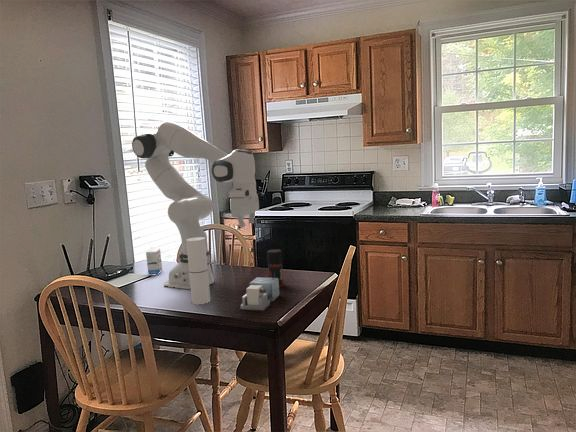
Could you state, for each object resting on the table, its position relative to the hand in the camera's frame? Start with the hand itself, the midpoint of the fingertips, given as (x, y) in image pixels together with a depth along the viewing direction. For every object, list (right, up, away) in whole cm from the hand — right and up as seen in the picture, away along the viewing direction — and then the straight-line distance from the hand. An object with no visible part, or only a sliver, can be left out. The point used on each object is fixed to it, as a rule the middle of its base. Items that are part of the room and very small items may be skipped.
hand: (246, 225), depth 189 cm
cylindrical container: (-18, -30, -4) cm, 35 cm away
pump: (+4, -28, -14) cm, 32 cm away
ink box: (-50, -25, +47) cm, 73 cm away
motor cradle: (+6, -29, -8) cm, 31 cm away
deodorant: (+12, -26, +12) cm, 31 cm away
